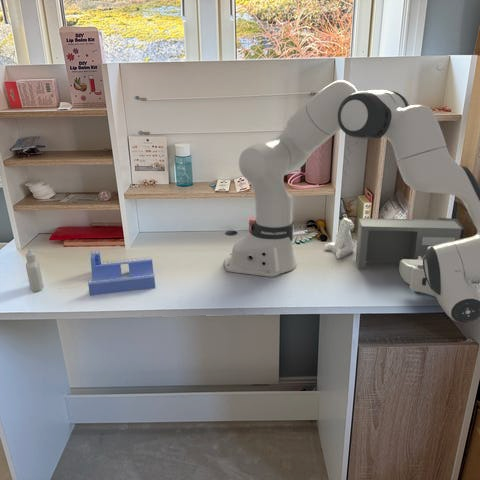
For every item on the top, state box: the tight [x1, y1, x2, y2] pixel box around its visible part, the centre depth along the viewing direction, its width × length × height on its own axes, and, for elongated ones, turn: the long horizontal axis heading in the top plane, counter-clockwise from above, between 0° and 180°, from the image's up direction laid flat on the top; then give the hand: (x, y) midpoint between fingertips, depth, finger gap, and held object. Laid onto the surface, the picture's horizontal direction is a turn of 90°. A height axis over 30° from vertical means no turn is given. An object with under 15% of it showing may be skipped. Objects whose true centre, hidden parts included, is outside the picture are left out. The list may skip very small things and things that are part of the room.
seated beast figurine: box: [324, 217, 355, 259], centre depth 154 cm, size 10×9×12 cm
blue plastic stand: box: [87, 249, 156, 296], centre depth 138 cm, size 18×16×7 cm
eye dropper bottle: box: [25, 248, 44, 293], centre depth 132 cm, size 4×6×12 cm
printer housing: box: [355, 217, 462, 271], centre depth 142 cm, size 28×8×14 cm, turn 83°
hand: (432, 258), depth 131 cm, fingers closed on supplement bottle, 5 cm apart
